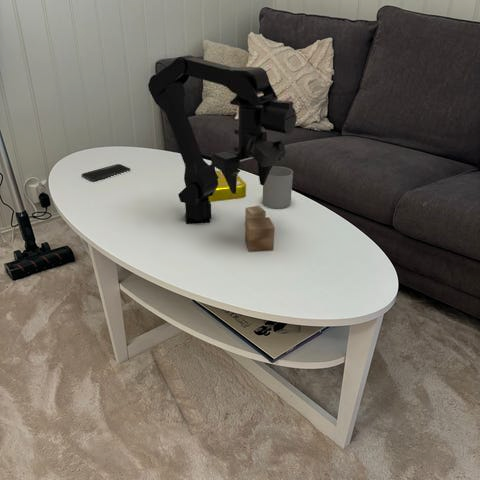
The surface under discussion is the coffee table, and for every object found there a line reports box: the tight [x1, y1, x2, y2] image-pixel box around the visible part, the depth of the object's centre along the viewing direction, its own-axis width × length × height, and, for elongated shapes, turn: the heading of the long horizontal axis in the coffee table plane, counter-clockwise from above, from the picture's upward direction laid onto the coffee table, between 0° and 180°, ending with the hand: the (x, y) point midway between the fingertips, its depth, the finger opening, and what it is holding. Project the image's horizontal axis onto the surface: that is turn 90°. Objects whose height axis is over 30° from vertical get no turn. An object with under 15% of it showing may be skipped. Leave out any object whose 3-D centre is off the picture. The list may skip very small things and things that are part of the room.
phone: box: [81, 163, 131, 183], centre depth 159 cm, size 8×1×15 cm
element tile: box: [208, 170, 247, 203], centre depth 146 cm, size 15×15×5 cm
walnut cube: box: [244, 216, 275, 253], centre depth 115 cm, size 6×6×6 cm
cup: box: [261, 166, 294, 210], centre depth 137 cm, size 8×8×10 cm
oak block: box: [244, 205, 267, 220], centre depth 125 cm, size 4×4×5 cm
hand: (248, 189), depth 115 cm, fingers open, 9 cm apart
